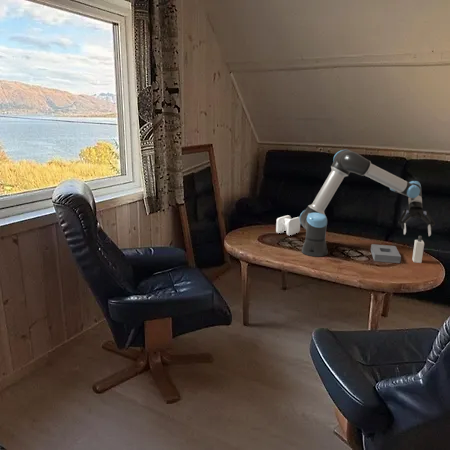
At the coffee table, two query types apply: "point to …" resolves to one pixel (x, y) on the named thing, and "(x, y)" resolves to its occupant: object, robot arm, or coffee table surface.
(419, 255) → the plug
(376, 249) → the socket panel
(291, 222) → the cable organizer
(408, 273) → the coffee table surface
